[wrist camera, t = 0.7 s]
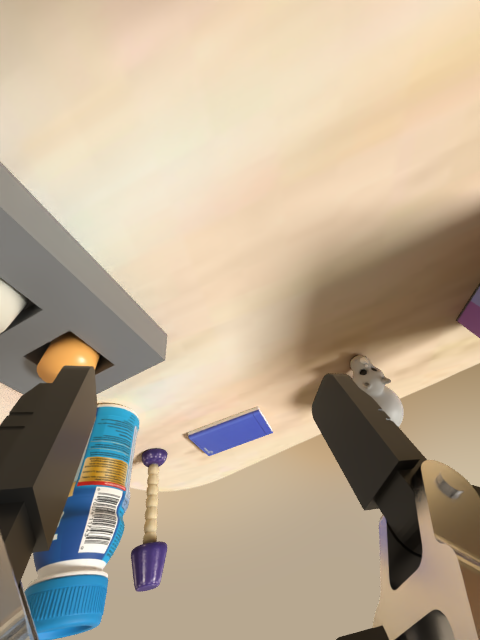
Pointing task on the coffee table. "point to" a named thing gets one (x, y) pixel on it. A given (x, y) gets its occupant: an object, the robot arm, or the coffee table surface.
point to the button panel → (64, 298)
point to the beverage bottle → (86, 531)
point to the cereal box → (472, 313)
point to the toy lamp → (150, 530)
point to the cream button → (10, 304)
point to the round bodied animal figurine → (376, 387)
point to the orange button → (65, 356)
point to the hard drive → (231, 431)
